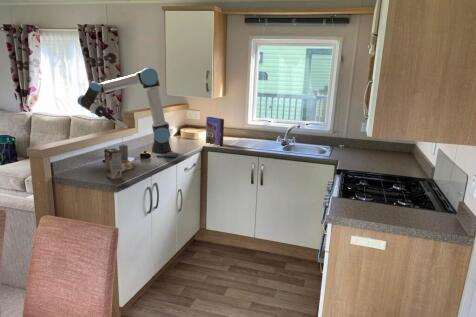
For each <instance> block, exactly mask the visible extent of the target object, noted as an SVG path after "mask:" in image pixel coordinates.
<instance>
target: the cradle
mask: <svg viewBox="0 0 476 317" xmlns="http://www.w3.org/2000/svg"><path fill="white" fill-rule="evenodd" d="M133 164H134V163H133V161H129V160H128V161H125V160H121V166H122V172H124V171H128V170H131V169H134V165H133Z"/></svg>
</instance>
